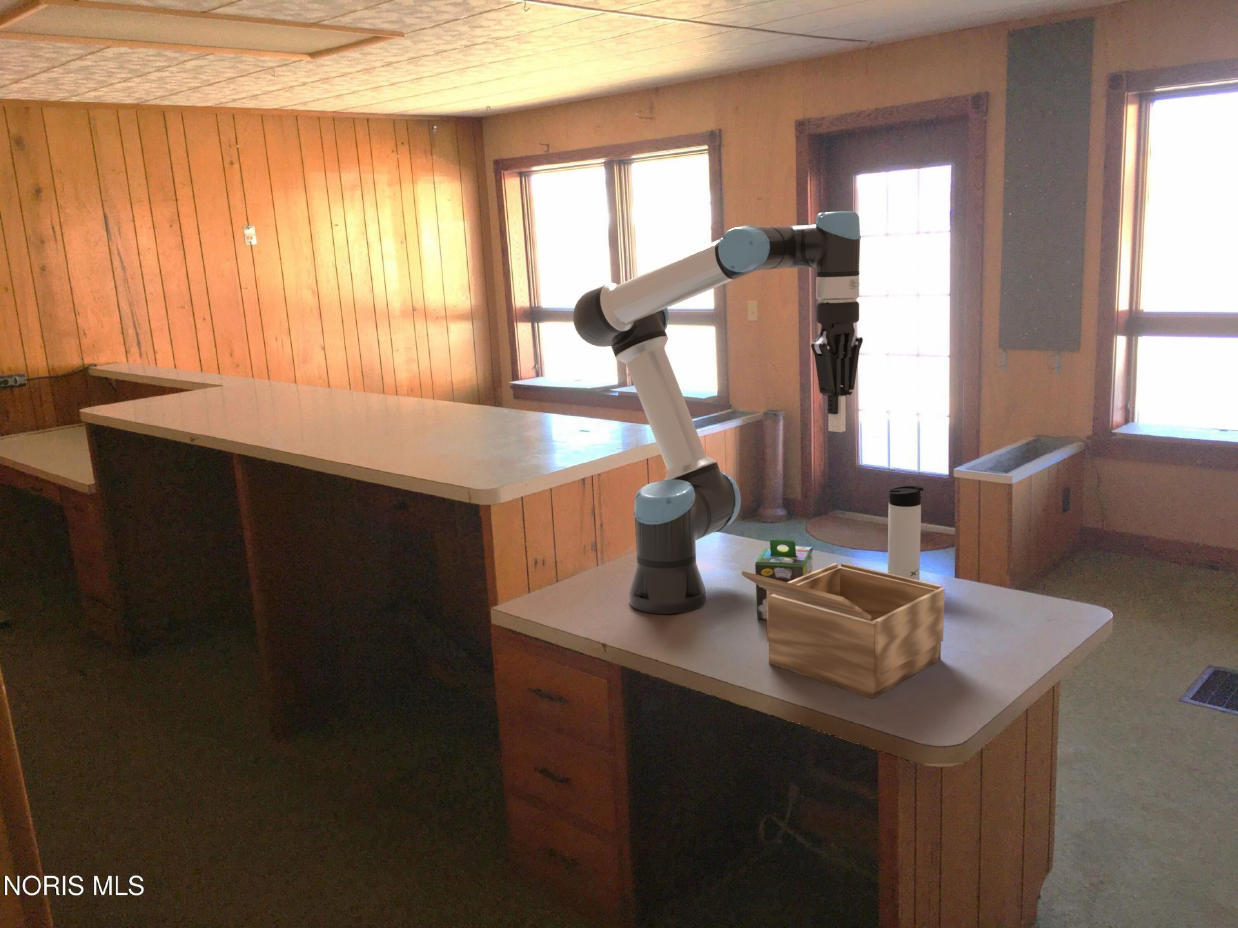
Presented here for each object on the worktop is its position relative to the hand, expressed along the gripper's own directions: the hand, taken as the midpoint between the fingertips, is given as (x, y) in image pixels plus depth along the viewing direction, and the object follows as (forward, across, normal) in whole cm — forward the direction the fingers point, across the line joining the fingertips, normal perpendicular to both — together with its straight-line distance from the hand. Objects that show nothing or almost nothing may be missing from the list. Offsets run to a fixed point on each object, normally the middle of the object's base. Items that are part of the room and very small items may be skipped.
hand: (836, 430), depth 183 cm
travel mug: (+35, +21, -2) cm, 40 cm away
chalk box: (+35, -8, +6) cm, 36 cm away
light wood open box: (+34, -19, -17) cm, 42 cm away
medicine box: (+35, +4, +13) cm, 37 cm away
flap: (+22, -28, -17) cm, 39 cm away
